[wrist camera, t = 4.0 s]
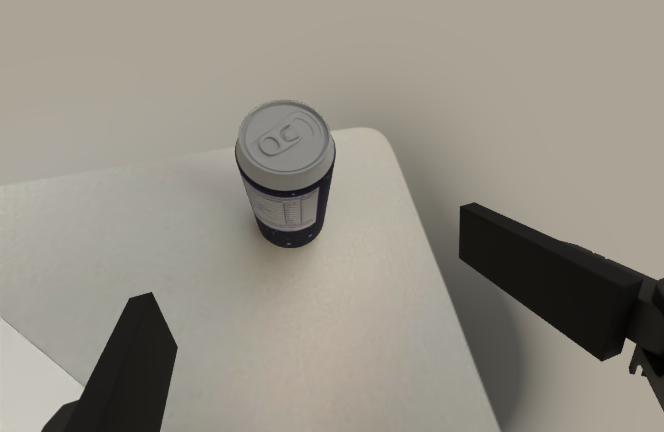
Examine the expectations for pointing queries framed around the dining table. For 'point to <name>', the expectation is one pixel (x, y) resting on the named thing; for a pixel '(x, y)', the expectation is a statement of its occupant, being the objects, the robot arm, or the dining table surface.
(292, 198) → the beverage can
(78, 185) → the dining table surface
